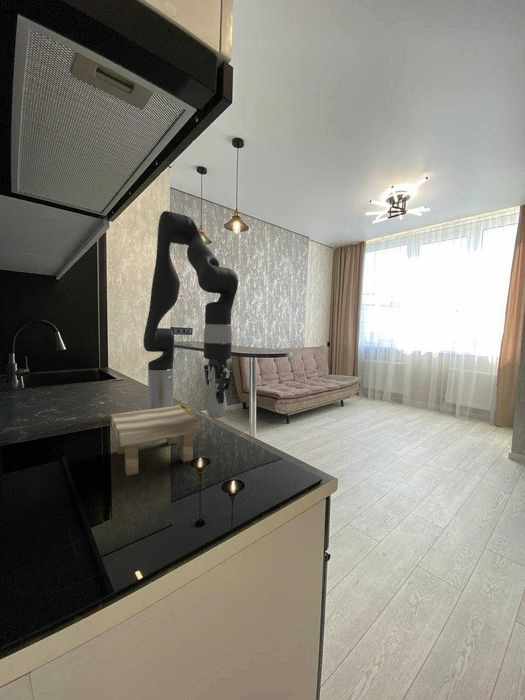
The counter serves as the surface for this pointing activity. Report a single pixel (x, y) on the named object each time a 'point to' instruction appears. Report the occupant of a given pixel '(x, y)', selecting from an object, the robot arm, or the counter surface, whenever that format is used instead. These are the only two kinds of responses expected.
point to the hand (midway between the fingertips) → (216, 402)
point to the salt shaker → (212, 405)
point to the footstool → (153, 432)
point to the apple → (185, 408)
